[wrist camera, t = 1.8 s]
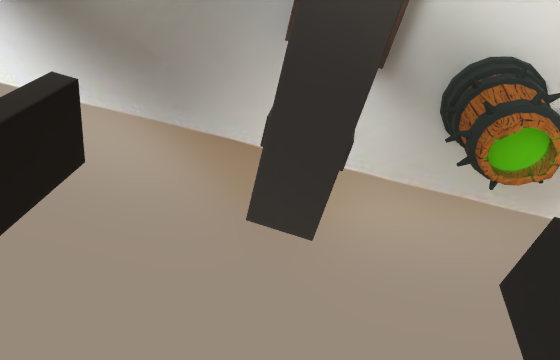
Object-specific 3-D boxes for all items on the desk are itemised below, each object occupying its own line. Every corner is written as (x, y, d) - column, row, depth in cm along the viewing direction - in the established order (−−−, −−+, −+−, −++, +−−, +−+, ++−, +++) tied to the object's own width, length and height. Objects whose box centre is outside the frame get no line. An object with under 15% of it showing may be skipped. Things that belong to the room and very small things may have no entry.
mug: (423, 138, 44) (436, 199, 35) (458, 43, 38) (485, 86, 29) (547, 162, 43) (594, 233, 34) (602, 69, 37) (678, 123, 28)
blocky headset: (277, 117, 35) (229, 215, 23) (338, -132, 25) (306, -166, 14) (344, 137, 34) (329, 246, 23) (434, -105, 24) (481, -118, 13)
